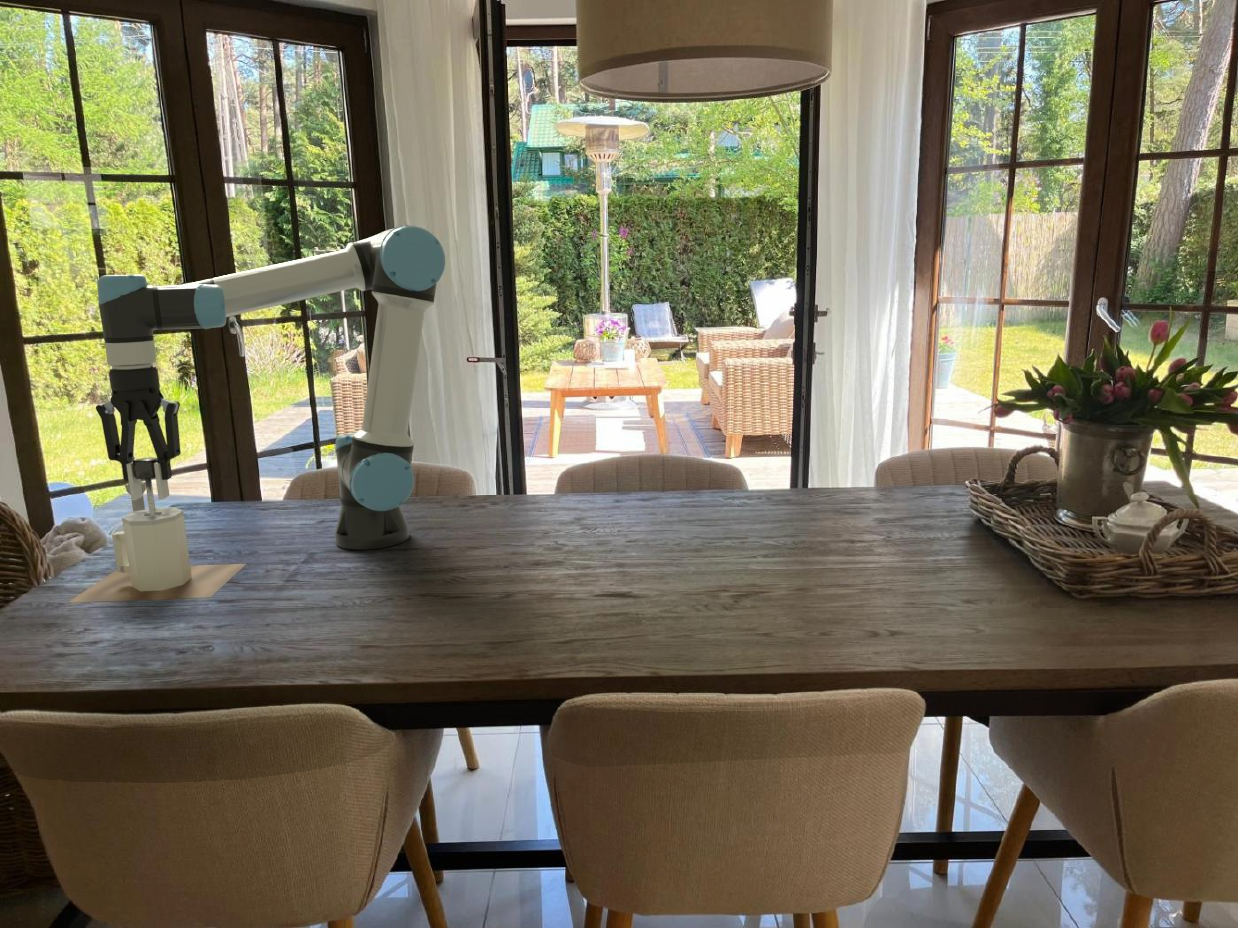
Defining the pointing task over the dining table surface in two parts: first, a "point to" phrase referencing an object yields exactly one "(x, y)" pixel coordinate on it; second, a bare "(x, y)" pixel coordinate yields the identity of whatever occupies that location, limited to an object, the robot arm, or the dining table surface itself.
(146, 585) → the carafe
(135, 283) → the robot arm
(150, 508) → the plunger
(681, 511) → the dining table surface
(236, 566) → the board
